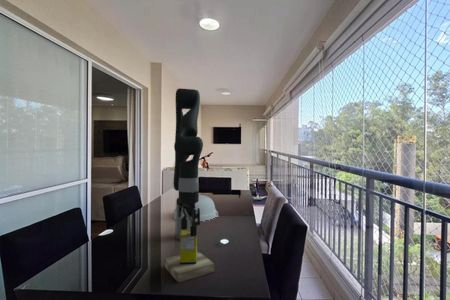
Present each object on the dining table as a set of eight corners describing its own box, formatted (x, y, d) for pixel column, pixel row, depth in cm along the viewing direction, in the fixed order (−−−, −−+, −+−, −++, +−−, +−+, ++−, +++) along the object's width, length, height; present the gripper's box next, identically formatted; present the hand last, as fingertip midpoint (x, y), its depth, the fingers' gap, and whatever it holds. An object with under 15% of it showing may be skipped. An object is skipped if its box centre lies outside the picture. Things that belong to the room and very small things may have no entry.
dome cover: (223, 212, 181) (223, 193, 181) (212, 224, 152) (212, 201, 152) (182, 210, 188) (182, 191, 188) (164, 220, 159) (164, 198, 159)
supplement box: (197, 257, 96) (197, 229, 96) (196, 264, 90) (196, 234, 90) (181, 257, 96) (181, 229, 96) (179, 264, 90) (179, 234, 90)
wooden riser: (164, 266, 95) (164, 258, 95) (197, 258, 103) (197, 250, 103) (178, 282, 83) (178, 273, 83) (214, 271, 91) (214, 263, 91)
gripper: (172, 187, 97) (172, 229, 97) (187, 193, 85) (187, 240, 85) (189, 186, 101) (189, 225, 101) (206, 191, 89) (206, 236, 89)
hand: (188, 232), depth 93 cm, fingers open, 8 cm apart
